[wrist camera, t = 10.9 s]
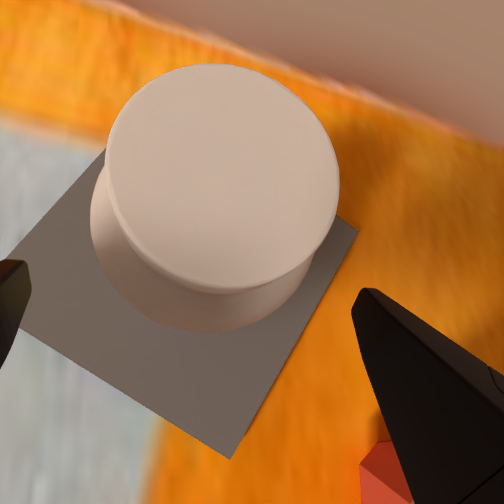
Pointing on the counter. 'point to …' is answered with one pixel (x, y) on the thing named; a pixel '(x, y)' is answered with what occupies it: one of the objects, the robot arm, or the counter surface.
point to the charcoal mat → (160, 327)
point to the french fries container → (383, 477)
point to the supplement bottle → (213, 197)
